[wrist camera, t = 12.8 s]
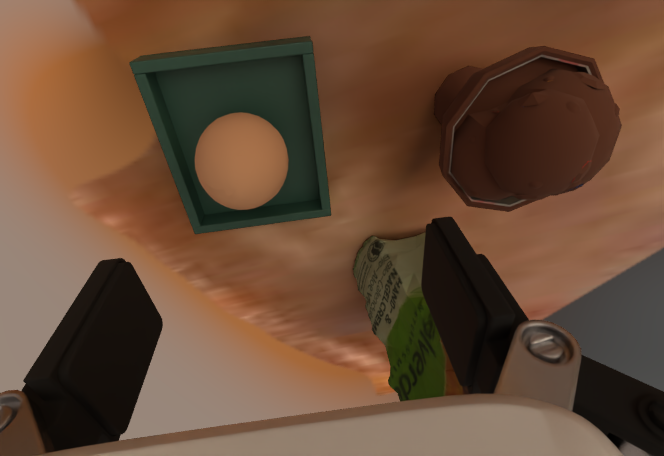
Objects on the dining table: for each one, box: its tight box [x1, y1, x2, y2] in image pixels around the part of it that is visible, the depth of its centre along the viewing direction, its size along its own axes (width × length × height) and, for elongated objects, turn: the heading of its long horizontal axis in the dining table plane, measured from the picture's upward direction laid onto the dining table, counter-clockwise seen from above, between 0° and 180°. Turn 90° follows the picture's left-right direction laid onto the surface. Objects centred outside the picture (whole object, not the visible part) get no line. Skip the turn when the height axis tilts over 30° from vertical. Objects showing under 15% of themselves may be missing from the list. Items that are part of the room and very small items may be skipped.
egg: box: [195, 112, 289, 210], centre depth 27 cm, size 7×7×9 cm
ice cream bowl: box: [434, 46, 622, 212], centre depth 25 cm, size 11×11×15 cm
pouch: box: [353, 232, 469, 401], centre depth 31 cm, size 11×12×25 cm
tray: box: [130, 36, 331, 234], centre depth 30 cm, size 15×13×3 cm
